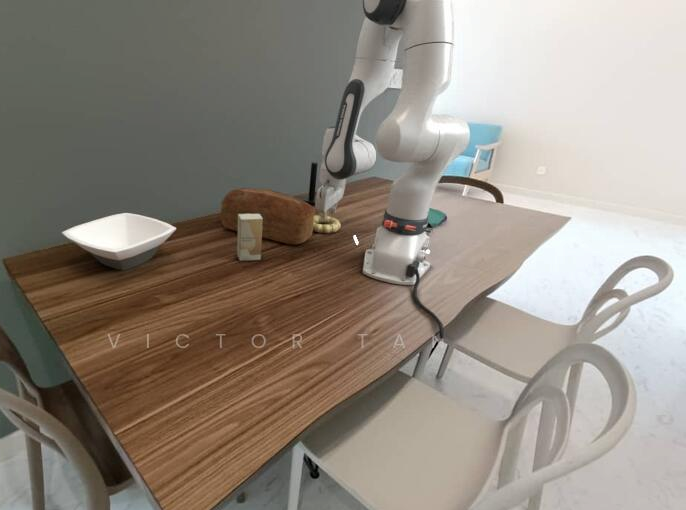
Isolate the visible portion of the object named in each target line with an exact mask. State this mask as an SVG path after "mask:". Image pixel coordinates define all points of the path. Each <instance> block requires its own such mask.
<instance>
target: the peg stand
mask: <svg viewBox="0 0 686 510" xmlns="http://www.w3.org/2000/svg"><path fill="white" fill-rule="evenodd" d="M310 165H311V166H310V178H309V188H308V193H305V194H303V195H301V196H300V197H299V198H298V197H297V198H298V199H301V200H303V201H305V202H307V203H308V204H310V205H311V206H312V207H315V202H316V185H317V174H318V162H316V161H312V162H311V163H310Z"/></svg>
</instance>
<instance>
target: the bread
mask: <svg viewBox="0 0 686 510" xmlns="http://www.w3.org/2000/svg"><path fill="white" fill-rule="evenodd" d="M220 204H221V208H220V218H221V224H222V226H223V227H224V228H225V229H227V230H230V231H233V232H238V214H260V215H261V216H262V218H263V222H262V239H268V240H272V241H276V242H280V243H282V244H286V245H296V246H297V245H302V244H303V243H305V242H306V241H308V240H309V239H310V238H311V237H312V236H313V233H314V231H313V223H314V216H316V210H315V208H314V206H311V205H310V204H308V203H307V202H305V201H303V200H301V199H298V197H296V196H292V195H289V194H286V193H283V192H279V191H275V190H273V189H272V190H271V189H264V188H263V189H262V188H247V187H241V188H236V189H232V190H230V191H229V192H228V193H227V194H225V196H224V197H223V199H222V200H221V203H220Z"/></svg>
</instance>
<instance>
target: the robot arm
mask: <svg viewBox="0 0 686 510" xmlns="http://www.w3.org/2000/svg"><path fill="white" fill-rule="evenodd" d="M453 7H454V5H453V0H362V8H363V9H362V10H363V13H364V15H365V18H364V20H363V23H362V26H361V29H360V33H359V37H358V40H357V45H356V50H355V55H354V56H355V58H354V60H353V67H352V70H351V74H350V78H349V81H348V83H347V85H346V87H345V88H344V91H343V94H342V98H341V101H340V104H339V110H338V113H337V118H336V122H335V125H333V126H329V127H327V128H326V130H325V132H324V135H323V138H322V139H323V140H322V144H321V145H322V146H321V163H320V166H319V174H318V183H319V184H321V185H320V187H318V189H317V192H316V194H315V196H316V202H315V206H314V211H315V212H319V215H320V221H321V222H325V221H326V219H327V216H328V215H327V213H329V215H334V214H335V213H336V209H337V207H338V203H339V202H340V200H342V199H343V197H344V194H345V190H346V184H347V180H348V179H349V178H350V177H352V176H356V175H359V174H362V173H366V172H368V171H370V170H372V169H373V168H374V167H375V164H376V163H377V158H378V157H377V156H378V155H379V156H380V157H381V158H382V160H386V161H391V162H395V163H399V164H400V163H409V165H407V168H406V169H405V170H404V172H402V173H401V174H400V175H399V176H398V177H396V178H395V179H394V180H393V181H392V183H391V186H390V189H389V194H388V201H387V205H386V209H385V210H384V213H383V216H382V222H381V225H380V226H378V227H376V232H375V238H374V243H372V244H371V246H370V248H371V249H370V248H369V249H366V250H365V251H364V257H363V263H362V264H363V265H362V274H363V275H365V276H367V277H369V278H371V279H375V280H378V281H381V282H385V283H390V284H394V285H402V286H413V290H412V293H413V294H412V296H413V299H414V301H415V303H416V305H417V306H418V307H419V308H420V309H421V310H423V311H424V313H426V314H427V315H429V316H430V317H431V318H432V319H433V320H434V321H435V323H436V324H437V326H438V332H439V339H441V340H444V339H445V333H444V325H443V323H442V321H441V320H440V319H439V318H438V316H437V315H436V314H435V313H434V312H433V311H432V310H430V309H429V308H427V307H426V306H425V305H424V304H422V302H421V300H420V299H419V297H418V295H417V294H418V293H417V291H418V287H419V285H420V281H421V278H422V276H424V275H425V274H426V272H427V271H428V270H429V269H430V268H431V262H428V261H426V256H427V254H430V251H431V250H429V243H430V237H429V235H428V236H427V235H426V233H427V232H425V230H427V229H426V228H428V225H429V224H428V219H429V217H428V212H429V209H430V208H431V204H432V201H433V197H434V194H435V191H436V189H437V187H438V184H439V182H440V180H441V178H442V177H443V176H444V174H445V172H446V171H447V169H448V168H449V166H450V165H451V164H452V163H453V162H454V161H455V160H456V159H458V157H459V156H461V155H462V154H463V153H464V152H465V151H466V149H467V148H468V145H469V143H470V139H471V131H470V127H469V125H468V123H467V122H466V120H464V119H462V118H460V117H458V116H452V115H450V114H432V113H433V108H434V105H435V102H436V100H437V98H438V96H439V95H441V94H442V93H444V92H445V91H446V90H447V89H448V88H449V86H450V84H451V82H452V73H453V59H454V46H455V45H454V44H455V16H454V8H453ZM402 37H404V42H403V43H404V44H403V58H402V59H403V60H402V61H403V62H402V74H401V86H400V91H399V95H398V97H397V101H396V102H395V106H394V107H393V109H392V111H391V112H390V113H389V114H388V116H387V117H386V118H385V119H383V120H382V121H381V123H380V125H379V126H378V128H377V130H376V133H375V144H373V143H372V142H370V141H368V140H365V139H363V138H362V137H360V136H359V135H357V132H358V128H359V123H360V119H361V115H362V113H363V111H364V109H365V108H366V107H367V105H369V103H371V102H372V101H373V100H374V99H375V98H377V97H378V96H380V95H381V94H383V93H384V92H385V91H386V90H387V89H388V87H389V85H390V82H391V80H392V77H393V74H394V69H395V66H396V65H395V64H396V59H397V54H398V47H399V44H400V41H401V39H402ZM377 153H378V155H377ZM328 211H329V212H328ZM353 240H354V242H355V244H356V245H357V246H358V245H359V241H358V239H357V236H356V235H353Z"/></svg>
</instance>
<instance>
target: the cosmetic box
mask: <svg viewBox="0 0 686 510" xmlns="http://www.w3.org/2000/svg"><path fill="white" fill-rule="evenodd" d="M262 222H263V218H262V216H261V215H260V214H238V231H237V245H236V246H237V247H236V249H237V253H236V255H237V258H238V260H239V262H242V261H261V260H262V242H263V238H262Z"/></svg>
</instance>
